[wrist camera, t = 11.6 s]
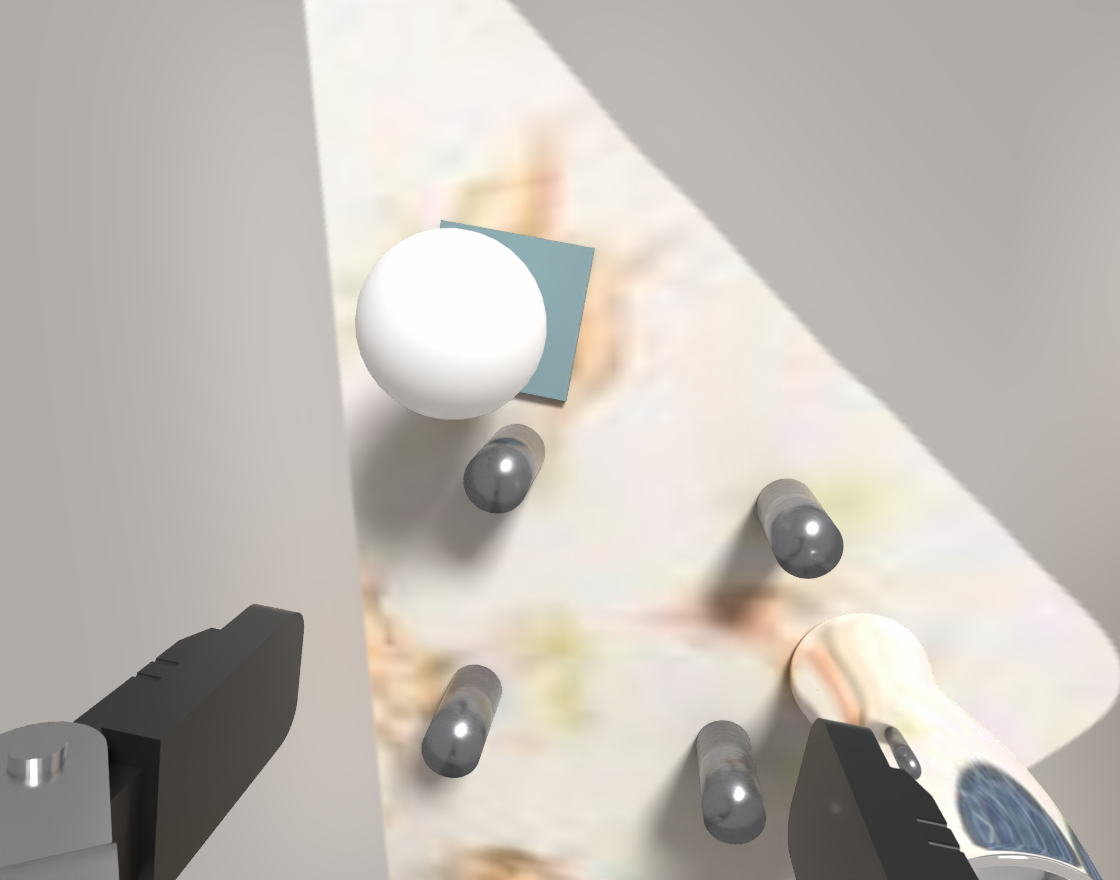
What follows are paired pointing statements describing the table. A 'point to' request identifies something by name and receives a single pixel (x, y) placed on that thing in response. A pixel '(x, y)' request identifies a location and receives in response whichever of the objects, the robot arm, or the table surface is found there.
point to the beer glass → (936, 747)
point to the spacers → (722, 746)
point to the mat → (551, 301)
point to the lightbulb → (450, 323)
